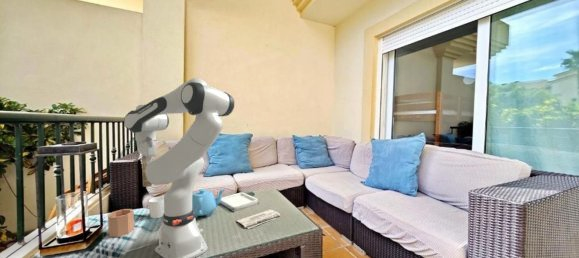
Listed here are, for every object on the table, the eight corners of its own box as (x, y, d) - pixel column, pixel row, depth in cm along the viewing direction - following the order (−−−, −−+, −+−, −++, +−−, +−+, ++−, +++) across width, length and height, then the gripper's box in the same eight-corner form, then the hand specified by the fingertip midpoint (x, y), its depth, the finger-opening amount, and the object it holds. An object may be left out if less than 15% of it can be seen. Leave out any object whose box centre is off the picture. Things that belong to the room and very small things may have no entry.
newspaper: (246, 231, 110) (246, 226, 110) (235, 224, 119) (235, 220, 119) (283, 217, 124) (283, 213, 124) (271, 212, 134) (270, 208, 134)
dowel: (152, 185, 117) (151, 156, 116) (144, 187, 114) (142, 158, 113) (150, 184, 119) (149, 156, 118) (142, 185, 116) (140, 156, 116)
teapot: (179, 215, 126) (178, 191, 125) (209, 204, 141) (209, 182, 140) (195, 224, 116) (194, 197, 115) (226, 211, 132) (226, 187, 131)
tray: (259, 203, 143) (259, 199, 143) (234, 211, 131) (234, 207, 131) (242, 195, 158) (242, 192, 158) (218, 202, 145) (218, 198, 145)
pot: (135, 233, 106) (134, 213, 106) (110, 241, 100) (109, 219, 99) (131, 226, 113) (130, 207, 112) (108, 233, 106) (107, 212, 106)
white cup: (168, 214, 127) (168, 197, 127) (159, 220, 119) (158, 202, 119) (155, 213, 128) (155, 196, 127) (145, 220, 120) (145, 201, 120)
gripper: (159, 137, 110) (159, 165, 111) (147, 135, 124) (148, 159, 125) (144, 138, 106) (145, 167, 106) (134, 135, 120) (135, 161, 121)
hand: (146, 163), depth 116 cm, fingers closed on dowel, 4 cm apart
